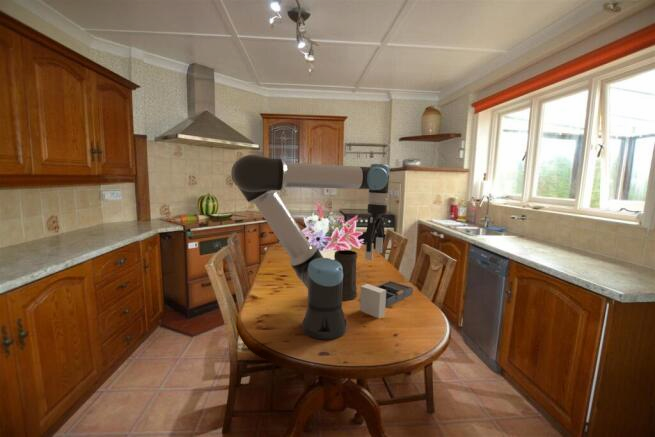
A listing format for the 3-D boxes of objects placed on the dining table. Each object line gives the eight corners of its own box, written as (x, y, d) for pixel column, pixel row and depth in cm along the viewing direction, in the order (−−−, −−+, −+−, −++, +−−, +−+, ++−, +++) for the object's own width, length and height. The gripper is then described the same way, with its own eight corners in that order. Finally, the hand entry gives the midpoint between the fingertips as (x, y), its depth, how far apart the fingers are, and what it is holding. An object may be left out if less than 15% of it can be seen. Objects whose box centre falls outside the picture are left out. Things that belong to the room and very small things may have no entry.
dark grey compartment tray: (386, 307, 122) (387, 298, 122) (363, 298, 131) (363, 290, 130) (412, 294, 137) (413, 286, 136) (389, 286, 145) (390, 279, 144)
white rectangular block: (378, 318, 113) (380, 292, 111) (359, 310, 119) (360, 286, 117) (385, 315, 115) (386, 290, 114) (366, 307, 122) (367, 283, 120)
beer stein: (355, 302, 127) (357, 254, 125) (330, 299, 129) (331, 253, 127) (358, 291, 142) (360, 248, 140) (336, 288, 144) (337, 247, 142)
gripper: (377, 206, 107) (373, 264, 110) (394, 202, 129) (390, 251, 132) (357, 204, 110) (354, 261, 113) (377, 201, 133) (373, 248, 135)
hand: (373, 256), depth 123 cm, fingers open, 13 cm apart
